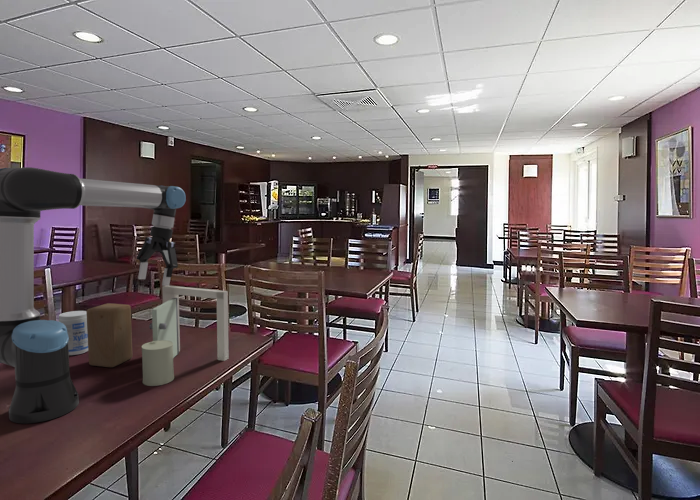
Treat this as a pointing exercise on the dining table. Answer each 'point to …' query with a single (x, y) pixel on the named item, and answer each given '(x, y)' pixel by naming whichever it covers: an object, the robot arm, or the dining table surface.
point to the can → (157, 362)
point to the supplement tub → (76, 331)
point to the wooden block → (109, 334)
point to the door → (166, 323)
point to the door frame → (222, 312)
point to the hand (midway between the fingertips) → (153, 282)
